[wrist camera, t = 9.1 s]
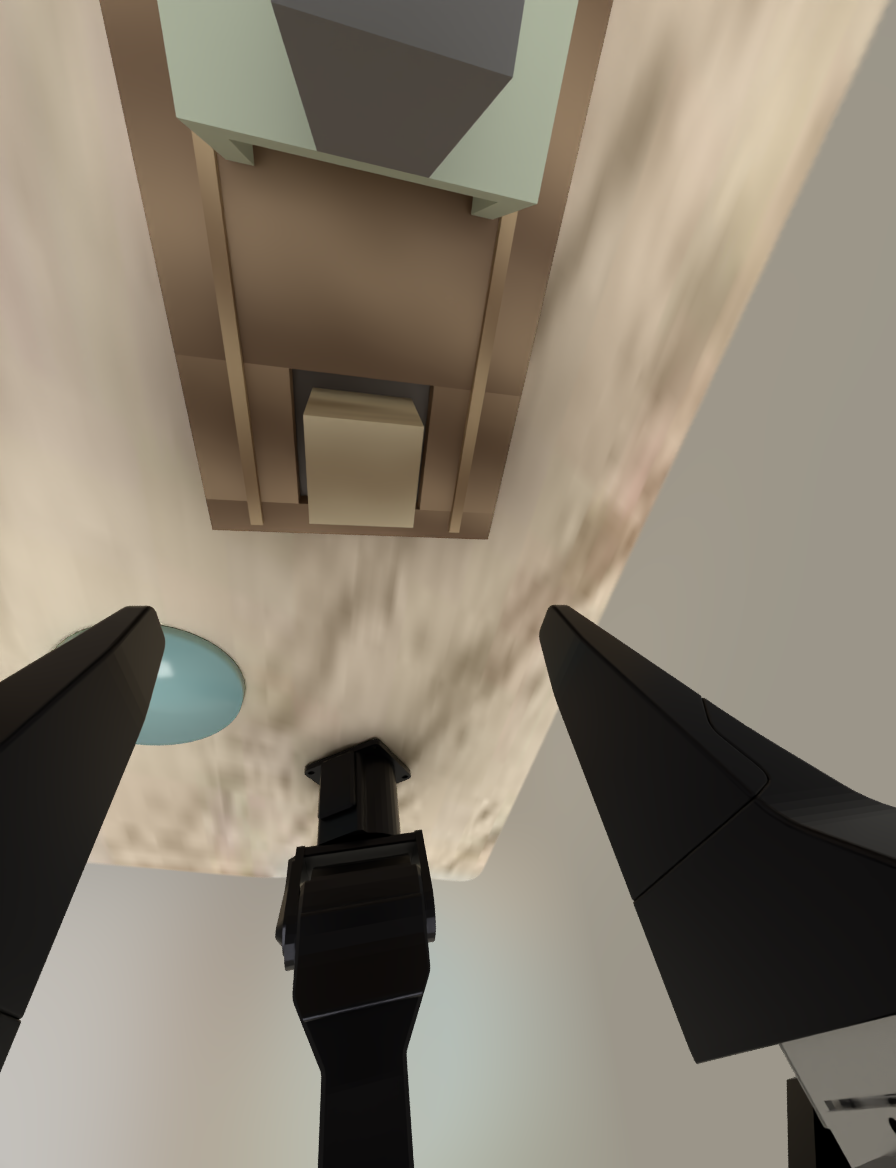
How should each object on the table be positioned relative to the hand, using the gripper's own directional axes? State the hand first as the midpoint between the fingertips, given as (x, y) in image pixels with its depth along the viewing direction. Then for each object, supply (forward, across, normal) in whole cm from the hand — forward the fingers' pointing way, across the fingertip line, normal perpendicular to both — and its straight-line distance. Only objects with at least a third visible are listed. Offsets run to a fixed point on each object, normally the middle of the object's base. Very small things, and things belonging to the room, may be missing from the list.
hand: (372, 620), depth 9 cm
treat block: (+12, 0, 0) cm, 12 cm away
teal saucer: (+12, +12, +16) cm, 23 cm away
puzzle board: (+12, 0, -5) cm, 13 cm away
